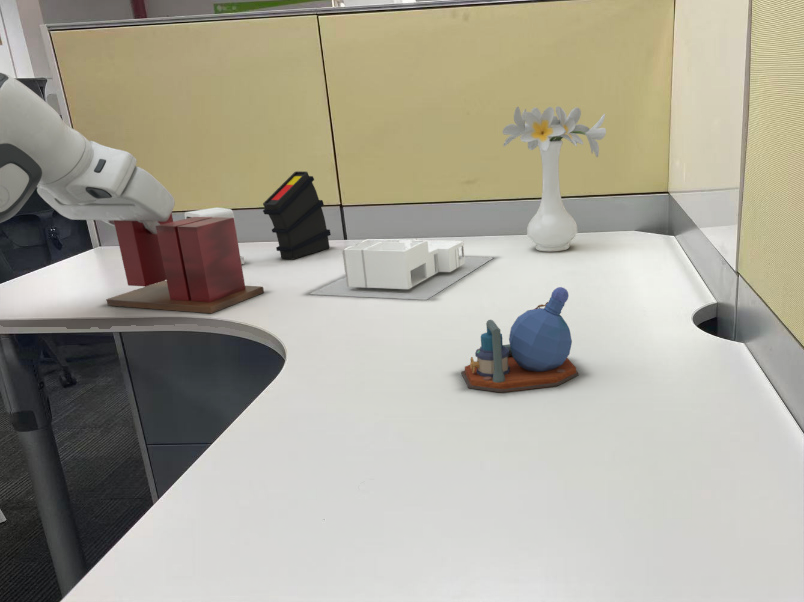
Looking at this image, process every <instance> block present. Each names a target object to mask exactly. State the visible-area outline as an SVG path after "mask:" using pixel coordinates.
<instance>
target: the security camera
mask: <svg viewBox="0 0 804 602" xmlns="http://www.w3.org/2000/svg"><path fill="white" fill-rule="evenodd" d="M191 217H213V218H214V217H226V218H234V222H235V223H236V219H235V213H234V211H233V209H231V208H224V207H211V208H203V209H199V210H192V211H191V210H190V211H185V212H184V219H187V218H191ZM235 228H236V229H237V225H236V224H235ZM236 234H237V235H238V232H237V230H236ZM237 240H238V241H239V238H238V236H237ZM240 258H241V264H242V265H245V264H246V263H245V257H244V256H242V255H240Z"/></svg>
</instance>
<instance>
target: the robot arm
mask: <svg viewBox="0 0 804 602" xmlns="http://www.w3.org/2000/svg"><path fill="white" fill-rule="evenodd" d="M137 162H138V160H137V158H136V157H135V156H134V155H133V154H132V153H130V152H128V151H126V150H123V149H118V148H113V147H109V146H106V145H103V144H100V143H98V142H96V141H93V140H89V139H88V138H86V137H85V136H84V135H83V134H82V133H81V132H79V131H78V130H76V129H75V128H72V127H71V126H69V125H68V124H66V122H64V120H63V119H62V117H61V116H60V113H58V111H56V109H54V108H53V107H52V106H51V105H50V104H49V103H47V101H45V100H44V99H43V98H42V97H41V96H39V95H38V94H37V93H36V92H35V91H33V90H32V89H30V87H28V86H26V84H24V83H23V82H21V81H20V80H18V79H16V78H15V77H13V76H11V75H9V74H6V73H3V72H0V224H1V223H4V222H6V221H8V220H10V219H11V218H13V217H14V216H16V214H18V212H20V211H21V209H22V208H23V207H24V205H25V204H26V203H27V201H28V200H29V198H30V197H31V196H32V195H33V193H34V192H35V190H36V192H37V194H38V195H39V197H40V198H42V199H43V201H44V202H45V203H47V204H48V205H49V206H50V207H51V208H52V209H54V210H55V212H57V213H58V214H59V215H61V216H63V217H64V218H66V219H69V220H74V221H75V220H77V221H79V220H80V221H102V222H103V223H106V224H107V225H110V226H111V227H114V228H115V224H114V220H116V221H138V222H140V223H143V224H144V226H143V228H142V229H144V230H145V231H146V232H147V233H148V234H157V231H156V226H158V225H160V224H159V223H158V222H157V221H160V222H165V221H167V220H168V218H169V217H170V214H171V213H173V210H174V207H175V205H176V201H175V197H174V196H173V195H172V194H171V193H170V191H169V190H168V189H167V188H166V187H165V186H164V185H163V184H162V183H161V182H160V181H159V180H158V179H156V178H155V176H154V175H152V174H151V173H150V172H149V171H147V170H145V169H144V168H142V167H140V166H137Z"/></svg>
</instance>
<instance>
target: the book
mask: <svg viewBox="0 0 804 602" xmlns="http://www.w3.org/2000/svg"><path fill="white" fill-rule="evenodd" d="M157 222H158V223H159V224H160V225H162V224H166V223H170V222H174V218H173V212H171V214H170V217H169V218H168V220H167V221H165V222H160V221H157ZM114 224H115V227H114V228H115V233H116V237H117V241H118V246H119V251H120V255H121V259H122V264H123V269H124V273H125V277H126V278H125V279H126V283H127V286H130V287H131V286H132V287H146V286H149V285H152V284H155V283H158V282H162V281H167V280H166V275H165V270H164V265H163V260H162V255H161V250H160V245H159V240H158V236H157V234H148V233H147V232H146V231H145V230H144V229H142V228H143V226H144V224H143V223H140V222H138V221H116V220H114Z"/></svg>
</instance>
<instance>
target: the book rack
mask: <svg viewBox="0 0 804 602" xmlns="http://www.w3.org/2000/svg"><path fill="white" fill-rule="evenodd" d="M234 219H235V217H234V218H226V217H214V218H213V217H191V218H187V219H185V218H184V219H180V220H175V221H173V222H170V223H166V224H162V225H158V226H156V231H157V236H158V240H159V245H160V250H161V255H162V260H163V265H164V270H165V275H166V280H165V281H161V282H158V283H155V284H152V285H149V286H146V287H145V286H142V287H140V288H137V289H134V290H131V291H127V292H124V293H121V294H118V295H115V296H111V297H108V298H106V305H107V306H110V307H124V308H137V309H150V310H162V311H175V312H188V313H189V312H190V313H199V314H200V313H201V314H214V313H216V312H218V311H219V312H220V311H221V310H223V309H226V308H229V307H231V306H234V305H237V304H239V303H240V302H244V301H247V300H249V299H252V298H254V297H256V296H259V295H262V294H264V293H265V291H264V286H261V285H260V286H259V285H246V283H245V277H244V272H243V264H241V258H240V256H241V253H240V247H239V239H238V240H237V237H238V233H237V234H236V231H237V227H236V228H235V225H236V221H235V222H234Z"/></svg>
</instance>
